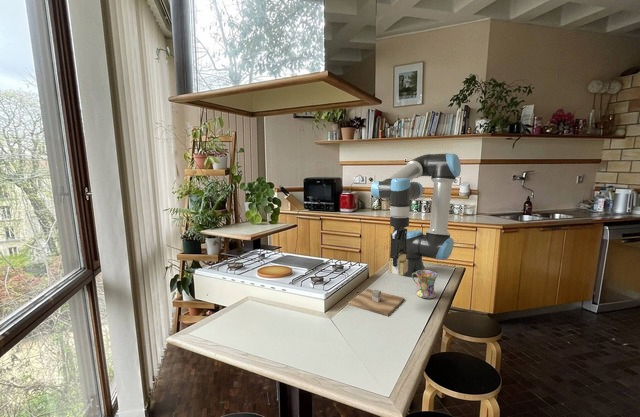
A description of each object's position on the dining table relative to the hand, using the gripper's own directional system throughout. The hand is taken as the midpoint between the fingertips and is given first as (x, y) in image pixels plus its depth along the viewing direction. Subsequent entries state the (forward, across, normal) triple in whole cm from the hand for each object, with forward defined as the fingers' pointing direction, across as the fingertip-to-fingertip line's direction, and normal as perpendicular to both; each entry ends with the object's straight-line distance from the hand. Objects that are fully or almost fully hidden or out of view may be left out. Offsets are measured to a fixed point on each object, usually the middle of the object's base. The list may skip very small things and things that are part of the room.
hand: (398, 271), depth 128 cm
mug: (+15, -16, +6) cm, 23 cm away
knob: (0, 0, 0) cm, 0 cm away
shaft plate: (+15, +2, -8) cm, 17 cm away
